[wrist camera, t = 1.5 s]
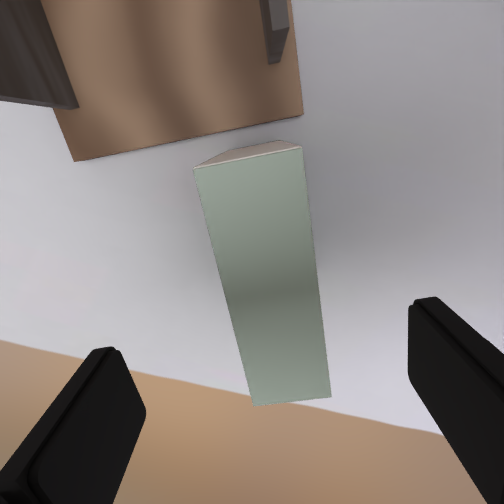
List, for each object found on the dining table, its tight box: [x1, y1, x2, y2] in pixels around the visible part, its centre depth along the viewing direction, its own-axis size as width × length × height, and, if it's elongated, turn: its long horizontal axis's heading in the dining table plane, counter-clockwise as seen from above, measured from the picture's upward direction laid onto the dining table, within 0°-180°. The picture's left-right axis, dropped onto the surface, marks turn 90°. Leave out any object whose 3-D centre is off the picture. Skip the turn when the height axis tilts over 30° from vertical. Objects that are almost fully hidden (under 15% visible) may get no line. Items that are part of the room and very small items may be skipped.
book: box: [193, 140, 332, 406], centre depth 19 cm, size 4×12×14 cm, turn 11°
